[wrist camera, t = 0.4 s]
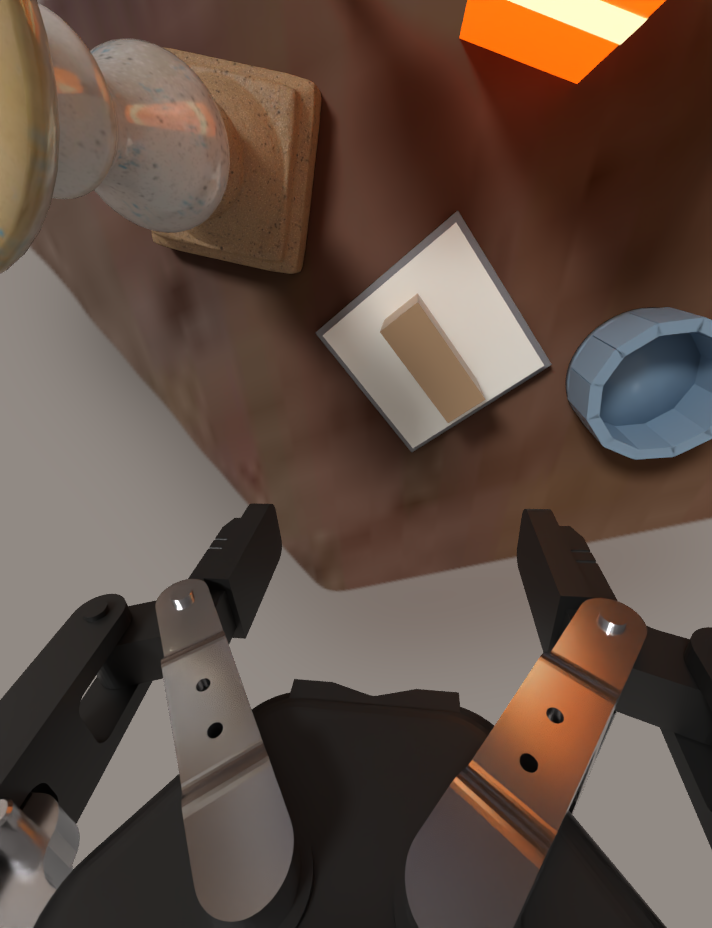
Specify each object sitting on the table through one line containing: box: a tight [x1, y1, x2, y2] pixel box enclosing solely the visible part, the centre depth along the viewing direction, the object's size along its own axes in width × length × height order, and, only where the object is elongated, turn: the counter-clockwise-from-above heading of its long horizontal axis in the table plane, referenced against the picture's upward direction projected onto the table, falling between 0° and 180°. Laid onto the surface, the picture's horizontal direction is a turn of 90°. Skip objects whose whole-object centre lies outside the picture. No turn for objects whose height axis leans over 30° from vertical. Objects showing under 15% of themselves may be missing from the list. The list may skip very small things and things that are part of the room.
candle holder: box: [0, 0, 322, 274], centre depth 19 cm, size 11×11×24 cm
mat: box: [316, 211, 552, 452], centre depth 33 cm, size 13×13×1 cm
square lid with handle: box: [323, 223, 544, 448], centre depth 30 cm, size 12×12×5 cm
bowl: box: [566, 307, 712, 460], centre depth 30 cm, size 10×10×5 cm
